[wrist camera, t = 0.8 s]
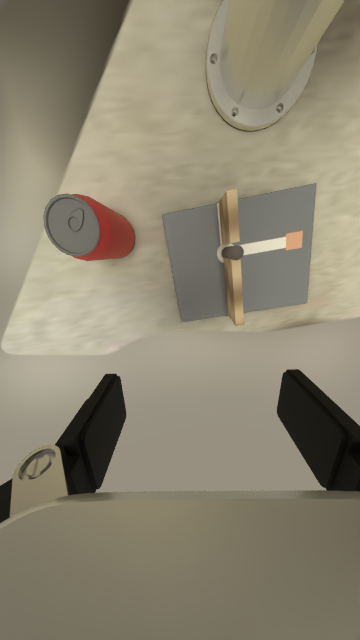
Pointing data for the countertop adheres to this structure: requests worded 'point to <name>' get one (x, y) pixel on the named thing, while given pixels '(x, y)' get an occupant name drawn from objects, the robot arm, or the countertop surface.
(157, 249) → the countertop surface
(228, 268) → the fence gate
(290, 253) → the card
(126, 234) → the beer can
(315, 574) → the robot arm
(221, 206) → the bar
